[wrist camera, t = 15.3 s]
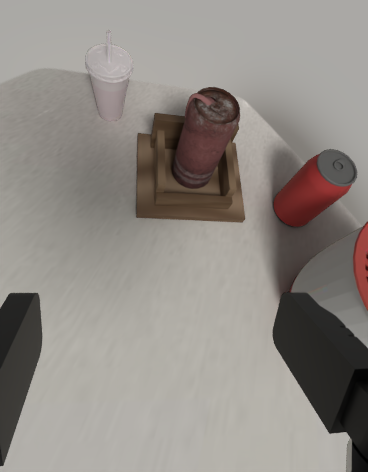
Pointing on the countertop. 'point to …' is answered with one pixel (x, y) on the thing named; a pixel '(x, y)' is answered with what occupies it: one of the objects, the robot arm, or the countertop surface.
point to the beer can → (315, 187)
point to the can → (204, 136)
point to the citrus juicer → (341, 281)
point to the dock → (175, 195)
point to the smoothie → (109, 77)
